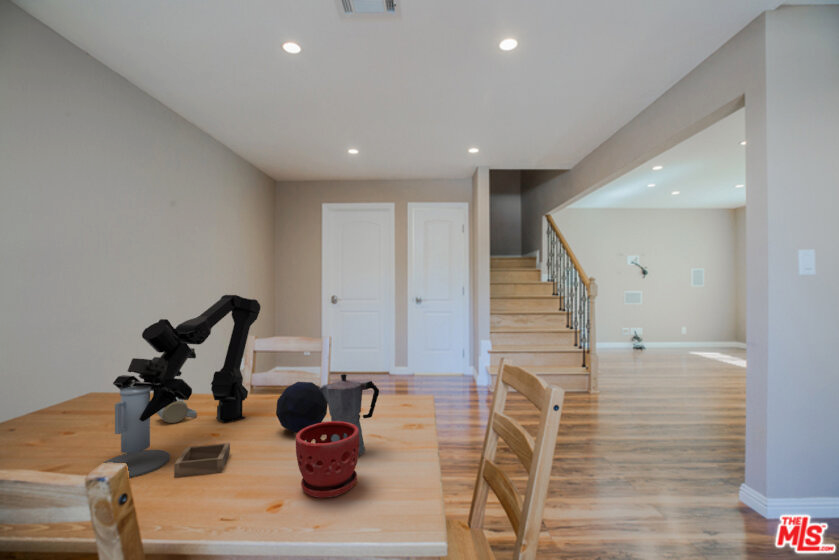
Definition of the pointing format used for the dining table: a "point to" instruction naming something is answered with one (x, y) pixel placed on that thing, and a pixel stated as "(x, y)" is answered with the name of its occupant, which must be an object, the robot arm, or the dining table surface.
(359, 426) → the moka pot
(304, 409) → the decorative orb
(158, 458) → the rubber mat
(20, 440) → the dining table surface
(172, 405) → the ceramic mug
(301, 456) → the plant pot
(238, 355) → the robot arm
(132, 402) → the jug
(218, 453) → the jug holder
